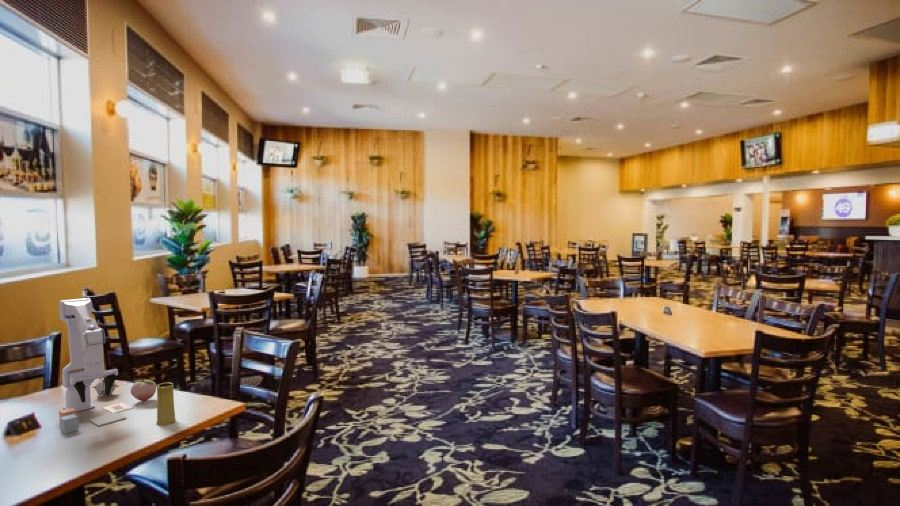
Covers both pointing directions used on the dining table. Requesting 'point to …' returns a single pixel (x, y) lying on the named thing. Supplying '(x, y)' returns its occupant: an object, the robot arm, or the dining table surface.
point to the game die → (103, 387)
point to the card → (117, 407)
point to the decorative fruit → (143, 389)
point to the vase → (165, 404)
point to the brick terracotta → (67, 412)
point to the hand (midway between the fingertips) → (95, 398)
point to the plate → (107, 419)
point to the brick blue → (69, 423)
